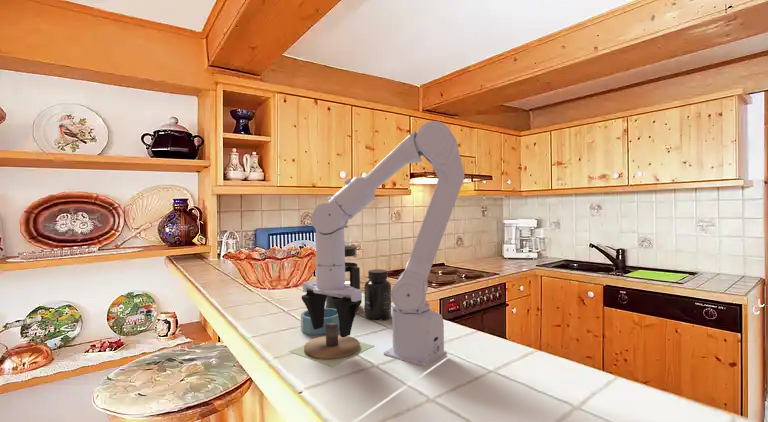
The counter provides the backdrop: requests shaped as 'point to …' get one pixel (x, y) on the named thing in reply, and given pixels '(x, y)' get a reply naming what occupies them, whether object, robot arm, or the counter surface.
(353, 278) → the french press
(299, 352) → the sage mat
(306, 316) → the teal bowl
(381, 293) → the supplement bottle
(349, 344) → the walnut lid
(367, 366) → the counter surface
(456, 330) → the counter surface
